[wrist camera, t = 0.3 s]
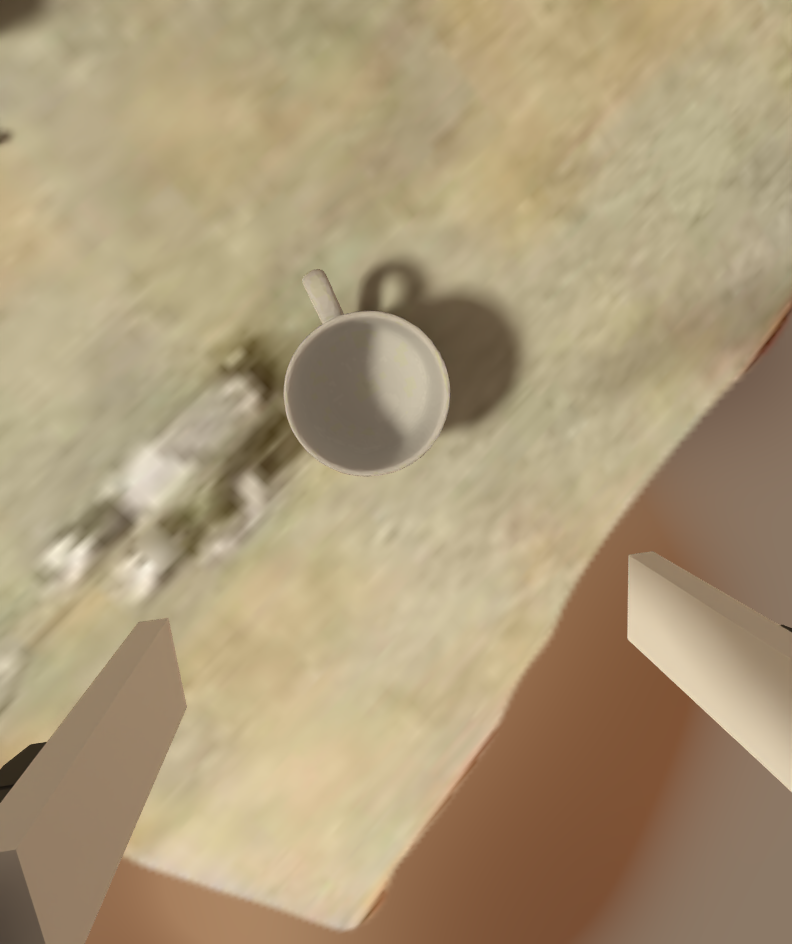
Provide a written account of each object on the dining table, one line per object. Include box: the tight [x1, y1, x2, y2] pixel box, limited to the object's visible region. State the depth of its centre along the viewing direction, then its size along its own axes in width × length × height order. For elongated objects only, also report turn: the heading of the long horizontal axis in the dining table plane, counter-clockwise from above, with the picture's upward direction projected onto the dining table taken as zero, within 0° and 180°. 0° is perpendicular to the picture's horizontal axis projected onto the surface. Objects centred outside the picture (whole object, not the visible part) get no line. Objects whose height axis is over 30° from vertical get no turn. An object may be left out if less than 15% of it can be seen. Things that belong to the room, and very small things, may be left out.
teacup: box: [284, 269, 450, 476], centre depth 36 cm, size 14×11×8 cm
